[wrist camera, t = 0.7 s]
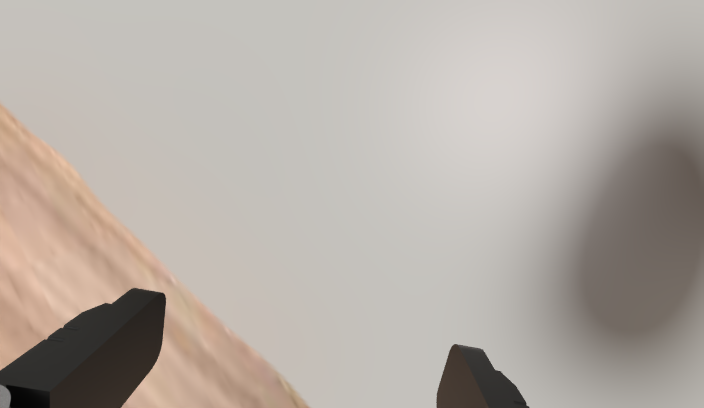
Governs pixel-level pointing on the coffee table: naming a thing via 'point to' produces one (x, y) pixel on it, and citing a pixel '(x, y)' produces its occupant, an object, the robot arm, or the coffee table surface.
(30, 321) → the coffee table surface
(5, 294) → the coffee table surface
